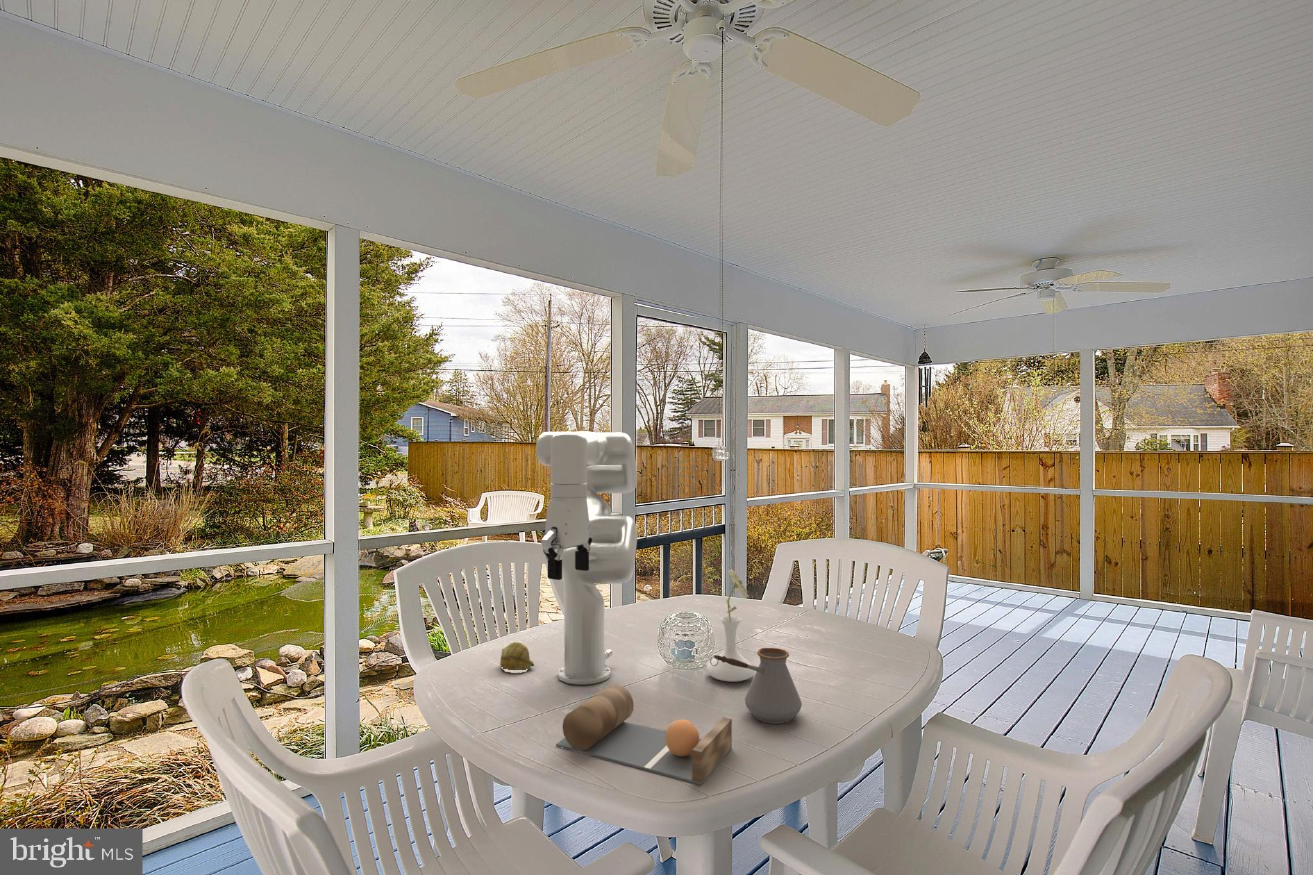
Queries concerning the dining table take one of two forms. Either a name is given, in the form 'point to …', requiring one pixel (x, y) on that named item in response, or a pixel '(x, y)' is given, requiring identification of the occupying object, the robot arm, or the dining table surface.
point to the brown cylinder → (597, 717)
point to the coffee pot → (770, 687)
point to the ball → (681, 737)
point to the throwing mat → (641, 751)
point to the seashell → (515, 657)
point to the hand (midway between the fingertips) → (568, 574)
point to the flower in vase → (731, 644)
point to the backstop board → (711, 749)
